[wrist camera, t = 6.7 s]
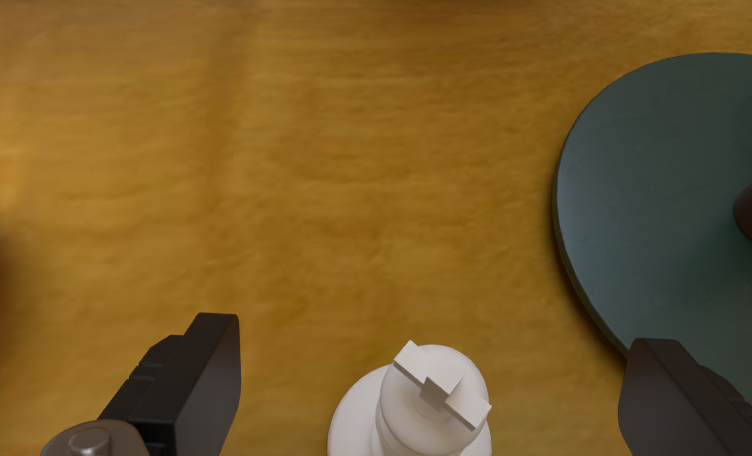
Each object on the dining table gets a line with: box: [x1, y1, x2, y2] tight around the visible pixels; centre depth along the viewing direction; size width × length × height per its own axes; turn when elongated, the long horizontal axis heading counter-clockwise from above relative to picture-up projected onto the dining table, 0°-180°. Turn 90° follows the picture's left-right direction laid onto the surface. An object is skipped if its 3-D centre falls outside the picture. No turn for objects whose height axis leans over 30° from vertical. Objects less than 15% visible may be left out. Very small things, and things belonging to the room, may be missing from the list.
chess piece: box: [327, 340, 492, 456], centre depth 14 cm, size 5×5×10 cm
